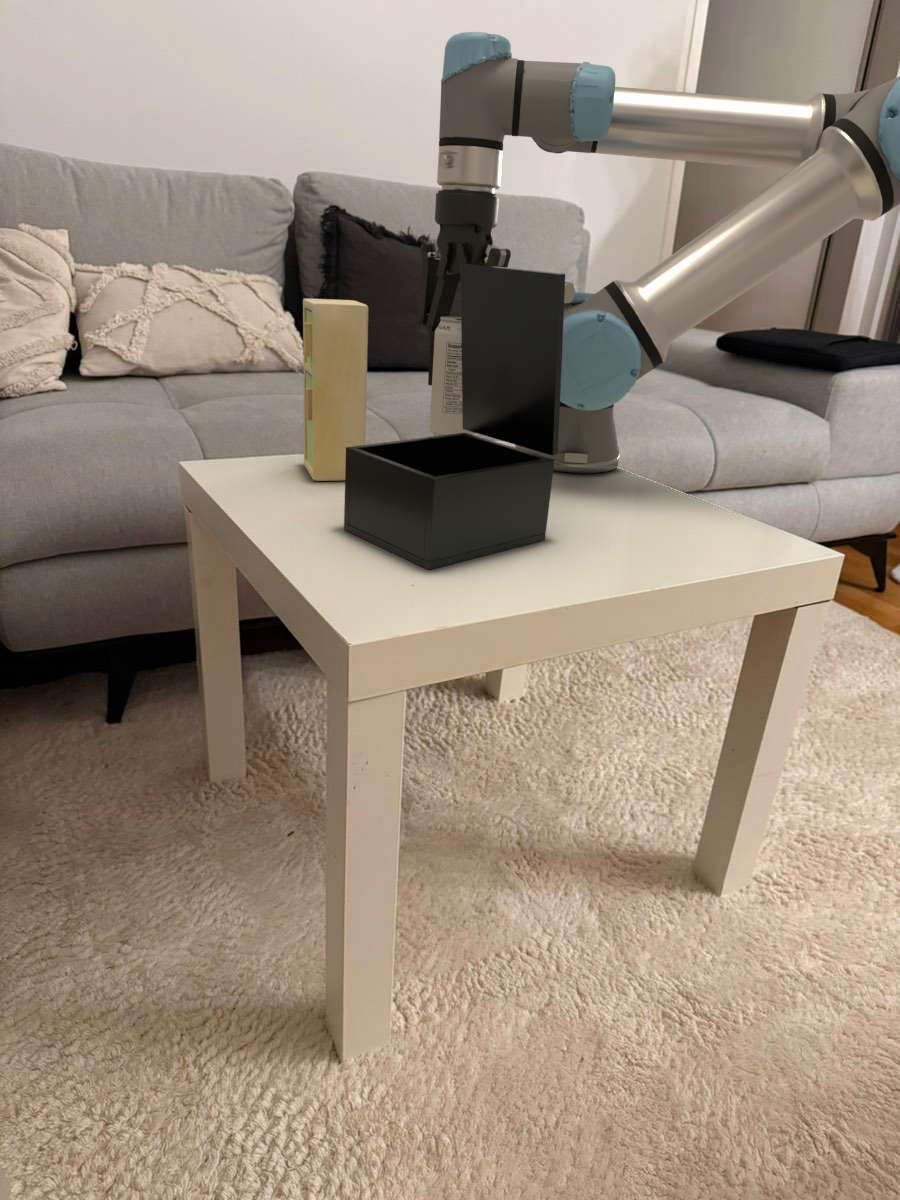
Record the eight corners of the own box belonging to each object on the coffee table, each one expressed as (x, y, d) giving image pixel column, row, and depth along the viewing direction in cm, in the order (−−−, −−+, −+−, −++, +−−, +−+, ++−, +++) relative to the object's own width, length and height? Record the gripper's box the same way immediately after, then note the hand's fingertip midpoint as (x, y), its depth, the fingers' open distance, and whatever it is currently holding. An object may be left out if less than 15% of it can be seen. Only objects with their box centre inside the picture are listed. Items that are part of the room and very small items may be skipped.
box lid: (560, 274, 79) (603, 267, 83) (460, 263, 88) (503, 258, 92) (552, 456, 87) (592, 442, 91) (462, 429, 96) (501, 417, 100)
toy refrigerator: (297, 465, 112) (297, 296, 104) (352, 464, 114) (356, 299, 106) (306, 481, 105) (307, 302, 97) (364, 481, 107) (370, 305, 99)
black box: (428, 570, 80) (434, 479, 77) (343, 529, 89) (345, 447, 86) (545, 540, 91) (555, 459, 87) (458, 506, 100) (464, 432, 96)
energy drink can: (465, 432, 116) (474, 317, 110) (481, 442, 110) (490, 322, 104) (423, 432, 114) (429, 315, 108) (436, 443, 108) (444, 320, 103)
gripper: (392, 186, 104) (386, 378, 113) (503, 188, 92) (486, 404, 101) (438, 192, 109) (428, 375, 118) (549, 194, 97) (529, 399, 106)
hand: (455, 388), depth 109 cm, fingers closed on energy drink can, 6 cm apart
